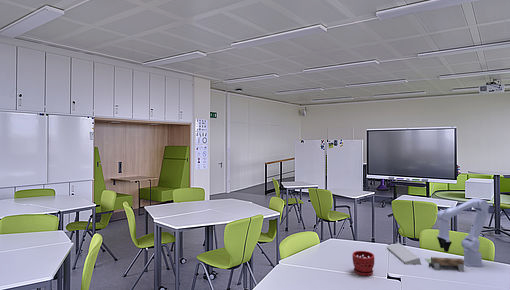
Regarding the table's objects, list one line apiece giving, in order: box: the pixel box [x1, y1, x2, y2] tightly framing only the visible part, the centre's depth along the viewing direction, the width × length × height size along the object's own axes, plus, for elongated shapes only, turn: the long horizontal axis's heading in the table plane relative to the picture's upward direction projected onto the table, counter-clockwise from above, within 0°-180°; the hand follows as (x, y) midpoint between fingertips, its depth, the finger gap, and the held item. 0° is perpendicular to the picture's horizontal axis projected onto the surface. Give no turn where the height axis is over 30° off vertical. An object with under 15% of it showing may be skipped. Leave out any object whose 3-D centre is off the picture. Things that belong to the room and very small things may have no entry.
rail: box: [430, 256, 465, 266], centre depth 206 cm, size 18×4×4 cm, turn 78°
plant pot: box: [351, 250, 375, 277], centre depth 202 cm, size 13×13×12 cm
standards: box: [428, 262, 465, 273], centre depth 206 cm, size 20×6×6 cm, turn 78°
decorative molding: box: [386, 242, 422, 265], centre depth 233 cm, size 34×5×10 cm
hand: (444, 249), depth 214 cm, fingers open, 7 cm apart
